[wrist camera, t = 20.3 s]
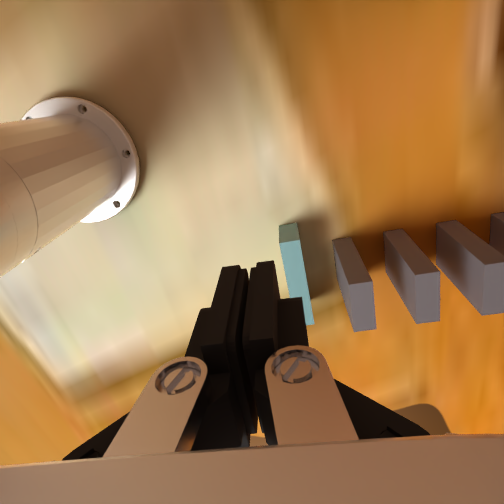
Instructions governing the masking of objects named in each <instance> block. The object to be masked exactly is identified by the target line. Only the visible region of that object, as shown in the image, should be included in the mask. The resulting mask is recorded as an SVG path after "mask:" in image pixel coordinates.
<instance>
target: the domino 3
mask: <svg viewBox="0 0 504 504" xmlns="http://www.w3.org/2000/svg"><path fill="white" fill-rule="evenodd" d="M383 235H384V251H385V266H386V273H387V275H388V276H389V278H390V280H391V282H392V283H393V285H394V287H395V288H396V290H397V292H398V293H399V295H400V297H401V299H402V300H403V302H404V304H405V305H406V307H407V309H408V310H409V312H410V314H411V316H412V317H413V319H414V321H415V322H416V324H420V323H428V322H435V321H440V271H439V270H438V269H437V268H436V266H435V265H434V264H433V263H432V262H431V261H430V260H429V258H428V257H427V256H426V255H425V254H424V253H423V252H422V250H421V249H420V248H419V247H418V246H417V245H416V244H415V242H414V241H413V240H412V239H411V238H410V237H409V236H408V235H407V233H406V232H405V231H404V230H403V229H397V230H391V231H385V232H383Z"/></svg>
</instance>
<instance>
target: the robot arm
mask: <svg viewBox="0 0 504 504" xmlns="http://www.w3.org/2000/svg"><path fill="white" fill-rule="evenodd" d="M84 107H86V109H87V111H85V109H84ZM127 150H129V152H130V155H129V154H128V153H127ZM139 175H140V167H139V158H138V155H137V151H136V148H135V146H134V143H133V141H132V139H131V137H130V135H129V134H128V132H127V131H126V129H125V128H124V127H123V125H122V124H121V123H120V122H119V121H118V120H117V119H116V118H115V117H114V116H113V115H112V114H111V113H109V112H108V111H107V110H105V109H104V108H103V107H101V106H99V105H97V104H95V103H93V102H91V101H88V100H84V99H81V98H77V97H54V98H50V99H46V100H43V101H41V102H39V103H37V104H35V105H34V106H32V107H31V108H30V109H29V110H28V111H27V112H26V113H25V114H24V116H23V117H22V118H21V120H20V121H13V122H6V123H0V278H1V277H2V276H3V275H5V274H6V273H7V272H9V271H10V270H12V269H13V268H14V267H16V266H17V265H19V264H20V263H22V262H23V261H25V260H26V259H28V258H29V257H30V256H32V255H33V254H35V253H36V252H38V251H39V250H40V249H42V248H43V247H45V246H46V245H47V244H49V243H50V242H52V241H53V240H54V239H56V238H57V237H59V236H60V235H61V234H63V233H64V232H66V231H67V230H69V229H70V228H71V227H73V226H74V225H76V224H77V223H78V222H85V223H91V222H100V221H103V220H106V219H109V218H111V217H113V216H115V215H117V214H118V213H119V212H120V211H122V210H123V209H124V208H125V207H126V206H127V205H128V204H129V203H130V202H131V200H132V198H133V196H134V195H135V193H136V190H137V187H138V183H139ZM118 201H120V203H121V204H120V203H118ZM258 417H259V422H260V426H261V430H262V433H264V434H265V438H266V442H267V444H268V446H255V447H249V446H250V434H255V433H257V424H258ZM0 504H504V434H452V433H446V435H430V434H429V433H428V432H427V431H426V430H424V429H423V428H421V427H420V426H419V425H417V424H415V423H413V422H412V421H410V420H408V419H406V418H404V417H403V416H401V415H399V414H397V413H395V412H394V411H392V410H390V409H388V408H386V407H384V406H383V405H381V404H379V403H377V402H375V401H374V400H372V399H370V398H368V397H366V396H364V395H363V394H361V393H359V392H357V391H355V390H353V389H352V388H350V387H348V386H346V385H344V384H343V383H341V382H339V381H337V380H335V379H333V376H332V374H331V371H330V369H329V367H328V364H327V362H326V359H325V358H324V356H323V355H322V354H321V353H320V352H319V351H317V350H316V349H314V348H311V347H309V344H308V336H307V329H306V322H305V314H304V307H303V300H302V297H295V298H286V299H280V293H279V287H278V281H277V275H276V269H275V264H274V260H273V261H265V262H258V263H257V265H256V267H254V268H251V271H250V279H249V277H248V272H247V269H241V268H240V265H235V266H228V267H222V270H221V273H220V277H219V280H218V284H217V287H216V291H215V294H214V298H213V301H212V305H211V308H202V309H201V310H200V312H199V315H198V318H197V321H196V324H195V327H194V330H193V333H192V336H191V339H190V342H189V345H188V348H187V351H186V354H185V357H180V358H177V359H174V360H171V361H169V362H167V363H165V364H164V365H162V366H161V367H160V368H158V369H157V370H156V371H155V373H154V374H153V375H152V376H151V378H150V380H149V381H148V383H147V385H146V386H145V388H144V390H143V391H142V393H141V395H140V396H139V398H138V400H137V401H136V403H135V404H134V406H133V408H132V409H131V411H130V412H129V413H127V414H126V415H124V416H123V417H121V418H120V419H118V420H117V421H115V422H114V423H113V424H111V425H110V426H108V427H107V428H105V429H104V430H102V431H101V432H99V433H98V434H96V435H95V436H94V437H92V438H91V439H89V440H88V441H86V442H85V443H83V444H82V445H80V446H79V447H78V448H76V449H75V450H73V451H72V452H71V453H69V454H68V455H67V456H66V457H65V458H63V460H62V461H51V462H39V463H26V464H14V465H2V466H0Z"/></svg>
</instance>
